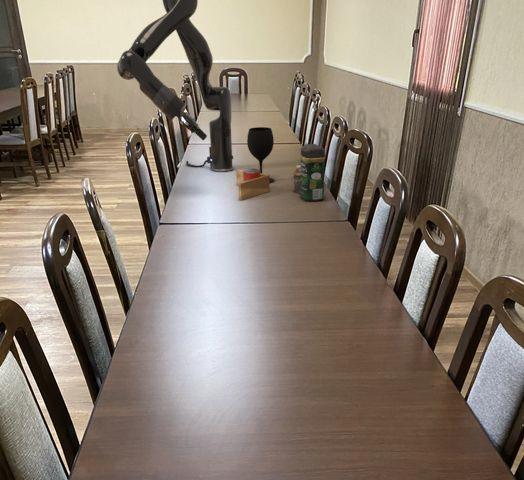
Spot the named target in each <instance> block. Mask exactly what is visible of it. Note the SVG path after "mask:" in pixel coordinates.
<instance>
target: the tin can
mask: <svg viewBox="0 0 524 480" xmlns="http://www.w3.org/2000/svg"><path fill="white" fill-rule="evenodd" d="M242 170H243V182H244V181H248V180H251V179H255V178H258V177H260V168H245V169H242Z"/></svg>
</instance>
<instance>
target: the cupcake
mask: <svg viewBox="0 0 524 480" xmlns="http://www.w3.org/2000/svg"><path fill="white" fill-rule="evenodd" d="M292 181H293V185H294V191H295V193H296V194H300V182H301V163H298V164H297V165H295V171H294V173H293V177H292Z"/></svg>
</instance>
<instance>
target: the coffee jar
mask: <svg viewBox="0 0 524 480" xmlns="http://www.w3.org/2000/svg"><path fill="white" fill-rule="evenodd" d="M325 161H326V150H325V148H323V147H322V146H320V145H318V144H316V143H306V144H304V145H303V146H301V148H300V164H301V182H300V193H299V196H300V197H301V199H303V200H304V201H306V202H308V201H309V202H317V201H321V200H323V199H324V196H325Z"/></svg>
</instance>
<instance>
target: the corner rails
mask: <svg viewBox="0 0 524 480" xmlns="http://www.w3.org/2000/svg"><path fill="white" fill-rule="evenodd" d="M243 170H244V169H236V170H235V171H236V173H235V175H236V186H238V200H239V201H243V200H247V199H251V198H253V197H257V196H259V195H262V194H265V193H266V194H267V193H269V192H270V190H271V189H270V183H269V178H270V174H267V173H263V172H262V173H260V177H258V178H255V179H251V180H248V181H244V182H243Z"/></svg>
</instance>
